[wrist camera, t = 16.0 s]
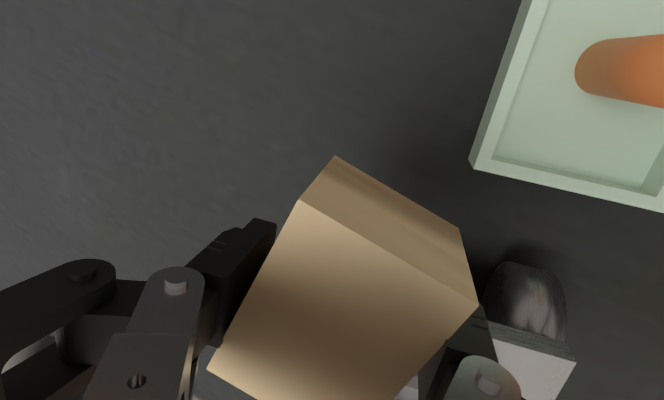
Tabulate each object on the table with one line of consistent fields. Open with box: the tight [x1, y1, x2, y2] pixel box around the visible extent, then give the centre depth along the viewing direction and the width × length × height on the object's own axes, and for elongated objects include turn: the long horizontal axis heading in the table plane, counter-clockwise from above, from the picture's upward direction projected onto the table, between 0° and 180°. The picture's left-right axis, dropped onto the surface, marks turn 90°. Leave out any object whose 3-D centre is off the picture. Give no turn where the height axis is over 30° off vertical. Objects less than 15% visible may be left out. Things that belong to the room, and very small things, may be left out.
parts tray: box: [468, 0, 664, 213], centre depth 21 cm, size 14×11×2 cm
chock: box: [206, 156, 479, 400], centre depth 11 cm, size 6×4×4 cm
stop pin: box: [574, 34, 664, 109], centre depth 17 cm, size 3×3×9 cm
